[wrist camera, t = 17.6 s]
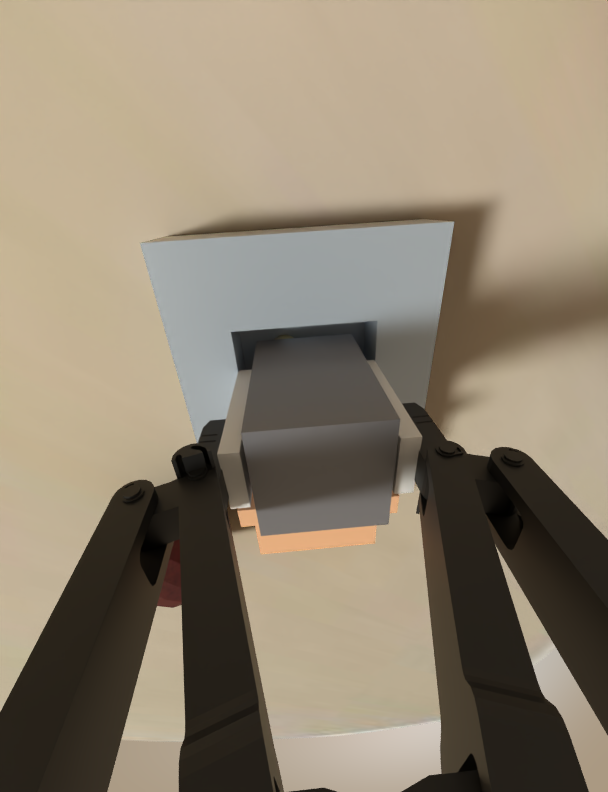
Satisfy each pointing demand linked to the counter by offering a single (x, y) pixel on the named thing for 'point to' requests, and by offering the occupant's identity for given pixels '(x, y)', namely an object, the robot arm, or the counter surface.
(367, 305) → the socket block
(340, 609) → the counter surface
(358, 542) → the orange l-shaped bracket
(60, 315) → the counter surface
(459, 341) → the counter surface
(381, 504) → the plug
